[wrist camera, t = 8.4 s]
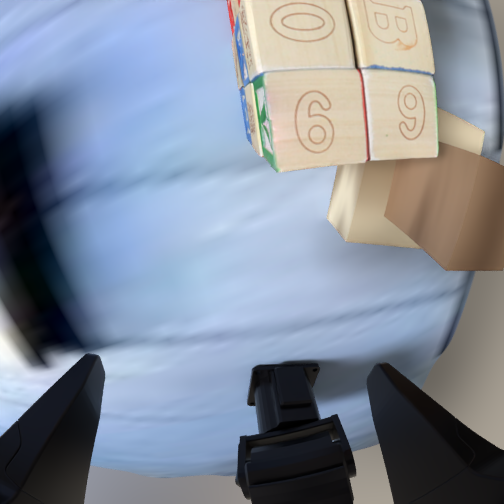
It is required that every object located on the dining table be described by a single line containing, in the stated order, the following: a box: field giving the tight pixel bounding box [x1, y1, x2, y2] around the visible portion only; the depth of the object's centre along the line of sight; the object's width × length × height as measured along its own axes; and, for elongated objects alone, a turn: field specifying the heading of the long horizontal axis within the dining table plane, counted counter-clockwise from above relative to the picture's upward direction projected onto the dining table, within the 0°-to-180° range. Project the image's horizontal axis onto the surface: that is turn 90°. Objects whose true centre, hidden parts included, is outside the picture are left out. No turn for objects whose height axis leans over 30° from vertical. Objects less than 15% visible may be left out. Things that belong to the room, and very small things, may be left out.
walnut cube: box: [384, 141, 504, 271], centre depth 12 cm, size 5×5×6 cm
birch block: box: [327, 107, 485, 249], centre depth 16 cm, size 9×9×4 cm
